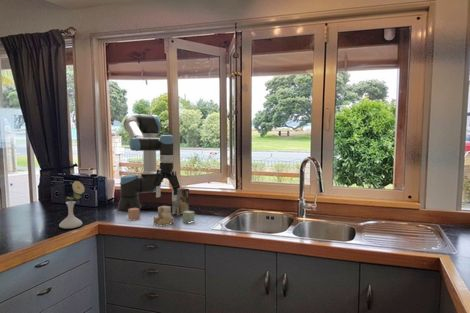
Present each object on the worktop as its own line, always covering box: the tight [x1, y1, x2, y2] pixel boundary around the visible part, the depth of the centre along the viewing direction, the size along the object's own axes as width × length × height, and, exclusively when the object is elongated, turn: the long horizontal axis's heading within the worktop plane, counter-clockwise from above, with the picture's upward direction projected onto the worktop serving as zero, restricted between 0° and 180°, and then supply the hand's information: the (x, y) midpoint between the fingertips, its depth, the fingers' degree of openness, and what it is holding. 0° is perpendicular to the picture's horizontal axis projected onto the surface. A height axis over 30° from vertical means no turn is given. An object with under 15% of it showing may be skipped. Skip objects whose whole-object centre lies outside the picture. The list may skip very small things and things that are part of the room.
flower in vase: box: [58, 180, 86, 230], centre depth 174 cm, size 13×11×25 cm
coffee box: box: [171, 187, 190, 216], centre depth 209 cm, size 9×6×16 cm
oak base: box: [153, 215, 174, 226], centre depth 185 cm, size 8×8×4 cm
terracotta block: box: [127, 208, 141, 221], centre depth 195 cm, size 5×5×6 cm
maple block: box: [157, 205, 172, 219], centre depth 185 cm, size 5×5×6 cm
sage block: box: [182, 210, 195, 222], centre depth 190 cm, size 5×5×6 cm
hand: (166, 198), depth 186 cm, fingers open, 13 cm apart
